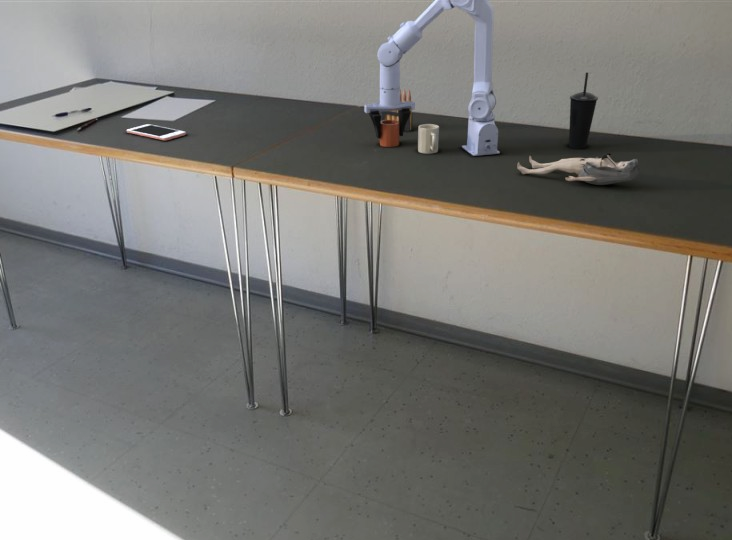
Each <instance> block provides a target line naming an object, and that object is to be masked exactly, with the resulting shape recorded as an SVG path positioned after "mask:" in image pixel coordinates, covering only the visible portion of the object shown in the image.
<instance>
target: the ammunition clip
mask: <svg viewBox="0 0 732 540" xmlns="http://www.w3.org/2000/svg"><path fill="white" fill-rule="evenodd" d="M402 91H403V92H402ZM408 101H412V92H411V90H410V89H409V90H408V91H406V89H405V88H404V89H403V90H402V89H400V102H408ZM410 111H411V115H410V117H409V119H408V121H407V123H406V125H405V129H404V132H411V131H413V130H414V129H413V128H414V127H413V125H414V124H413V113H412V111H413V110H411V109H410ZM383 120H397V121H399V117H398V110H395V111H382V112H381V121H383Z"/></svg>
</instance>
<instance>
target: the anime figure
mask: <svg viewBox="0 0 732 540" xmlns="http://www.w3.org/2000/svg"><path fill="white" fill-rule="evenodd" d="M611 156H612V153H611V152H607V153H604V154H603V155H602V156H601V157H600V158H599V157H598V156H596V157H587V158H586V157H585V158H584V157H569V158H561V159H559V160H557V161H552V162H547V163H539V162H538V161H536V160H534V159H532V155H529V157H528V159H529V160H528V161H529V163H530V164H531V168H532V169H531V168H530V169H529V168H527V167H524V166H522V165H521V164H520V161H518V162H517V164H516V167H517V170H519V171H520V172H521V174H522V175H527V174H528V175H529V174H530V175H542V176H546V175H549V174H551V173H553V172H555V171H560V172H565V173H570V174H575V175H577V177H575V176H572V175H568V177H566V176H565V178H564V179H565V181H567V182H573V181H579V182H580V181H581V182H584V183H588V184H591V185H597V186H605V185H612V184H617V183H618V184H619V183H626V182H630V181H633V180H634V179H636V178H637V177H638V176H639V175H640V168H639V159H637V158H633V159H631V160H629V161H628V160H627V161H625V160H623V161H618V160H617V159H616V158H615V157H614V158H615V160H617V162H615V161H614V160H613V159H612V157H611Z"/></svg>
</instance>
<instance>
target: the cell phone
mask: <svg viewBox="0 0 732 540" xmlns="http://www.w3.org/2000/svg"><path fill="white" fill-rule="evenodd" d="M126 133H128V134H132V135H137V136H142V137H145V138H151V139H156V140H159V141H160V140H161V141H165V142H166V141H170V140H173V139H176V138H177V139H178V138H180V137H183V136H186V135H187V131H184V130H179V129H175V128H169V127H165V126H160V125H155V124H150V123H147V124H143V125H139V126H135V127H131V128H128V129H126Z"/></svg>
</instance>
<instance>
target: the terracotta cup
mask: <svg viewBox="0 0 732 540" xmlns="http://www.w3.org/2000/svg"><path fill="white" fill-rule="evenodd" d="M399 129H400V122H399V121H397V120H383V121H381V123H380V133H381V136H380V138H379V146H380V147H385V148H395V147H398V146H399V145H400V135H399Z"/></svg>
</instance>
